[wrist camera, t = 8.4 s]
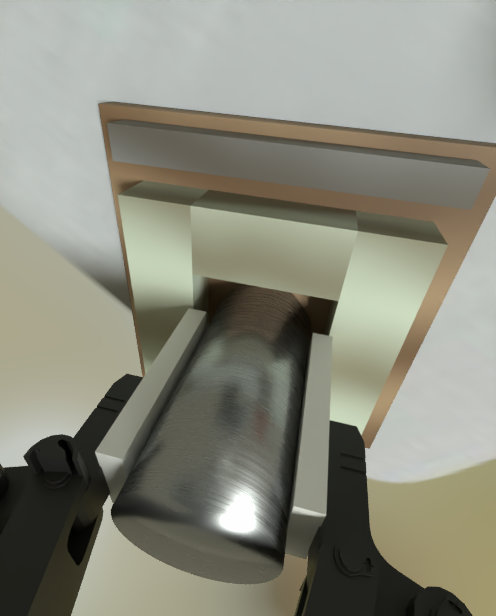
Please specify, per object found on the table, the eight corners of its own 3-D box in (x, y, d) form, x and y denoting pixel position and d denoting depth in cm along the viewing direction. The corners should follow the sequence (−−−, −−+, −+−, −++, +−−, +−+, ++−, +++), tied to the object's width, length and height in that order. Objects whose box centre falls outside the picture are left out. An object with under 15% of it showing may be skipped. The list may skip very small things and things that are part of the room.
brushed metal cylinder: (217, 276, 15) (94, 473, 7) (319, 293, 14) (295, 528, 7) (216, 351, 17) (125, 553, 10) (303, 369, 16) (273, 599, 9)
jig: (113, 101, 13) (61, 107, 11) (505, 144, 11) (551, 164, 9) (152, 383, 22) (129, 420, 20) (368, 433, 20) (371, 481, 18)
